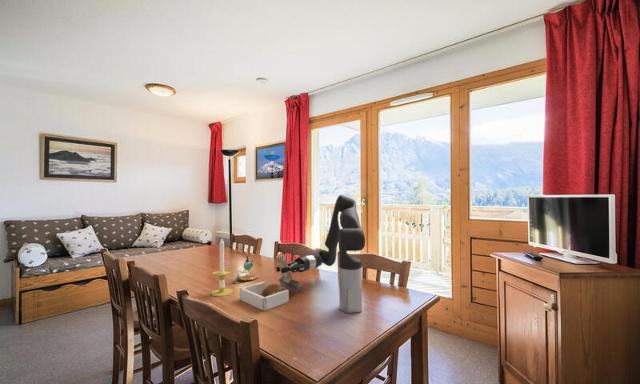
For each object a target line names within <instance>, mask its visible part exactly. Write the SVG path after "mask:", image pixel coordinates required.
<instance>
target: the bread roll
mask: <svg viewBox="0 0 640 384" xmlns="http://www.w3.org/2000/svg"><path fill="white" fill-rule="evenodd" d="M282 291H284V287H282V286H281V285H279V284H277V283H269V284H267V285H265V289H263V291H262V294H261V296H263V297H267V296H270V295H273V294H276V293H279V292H282Z"/></svg>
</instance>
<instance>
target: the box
mask: <svg viewBox="0 0 640 384" xmlns="http://www.w3.org/2000/svg"><path fill="white" fill-rule="evenodd" d="M265 288H266V281H261V282H258V283H254V284H250V285H247V286H244V287H240V288H239V300H240V301H242V302H244V303H246V304H249V305H251V306H253V307H255V308H257V309H259V310H261V311H264V312H265V311H268V310H271V309H273V308H275V307H276V308H277V307H278V306H280V305H281V306H282V305H283V304H286V303H288V302H289V301H290V296H289V295H290V294H289V290H290V289H285V290H283V291H282V292H279V293H276V294H273V295H270V296H267V297H263V296H262V291H263V289H265Z"/></svg>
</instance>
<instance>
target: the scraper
mask: <svg viewBox="0 0 640 384" xmlns="http://www.w3.org/2000/svg"><path fill="white" fill-rule="evenodd" d="M275 259H276V262H277V265H278V267H279V268H280V271H279V272H280V274H281V276H282V277H280V278H279V279H278V281H279V284H280V286H281V287H282V288H285V289H287V290H291V291H295V292H299V291H300V290H301V289H302V287H301V285H300V282H299V281H298V280H295V279H293V276H292V272H286V273H281V269H282V268H285V267H288V264H287V263H288V261H287V258H286V256H285V254H284V253H279V254H278V255H276V256H275Z"/></svg>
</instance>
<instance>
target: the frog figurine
mask: <svg viewBox="0 0 640 384" xmlns="http://www.w3.org/2000/svg"><path fill="white" fill-rule="evenodd" d="M245 256H246V260H245V261H244V263H243V268H244V270H243V271H241V270H239V272H240V273H238V275H237V276H236V277H235V278H234V282H233V284H234V285H235V284H240V283H242V282H241V281H251V280H255V279H257V278H260V277H261V275H256V274H254V271H252V268H253V266H254V264H253V263H254V260H253V259H252V260H249V255H248V254H246V255H245ZM247 271H248V272H249V274H247V273H248V272H247ZM244 273H245V275H242V276H241V274H244ZM239 280H240V281H239Z"/></svg>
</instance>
